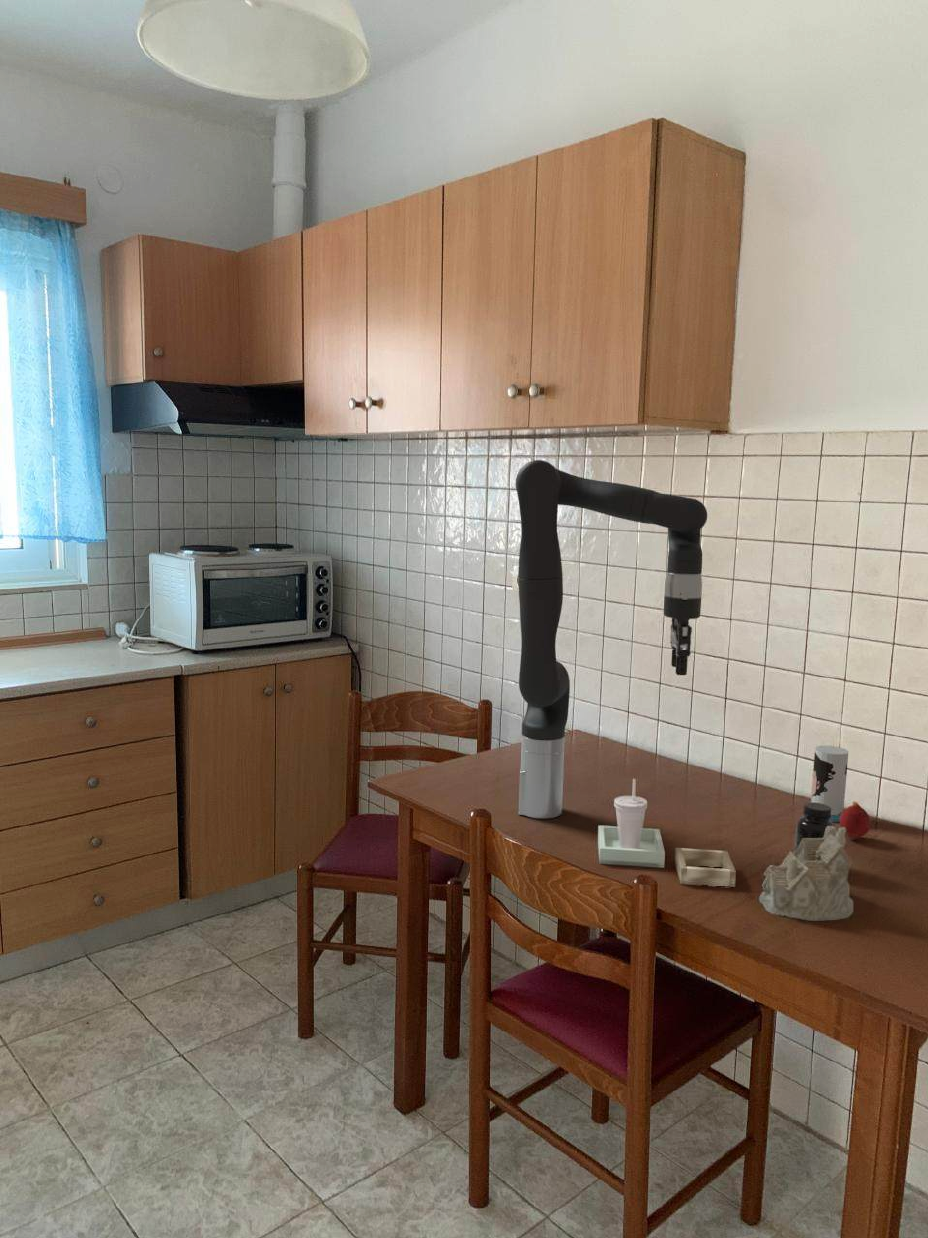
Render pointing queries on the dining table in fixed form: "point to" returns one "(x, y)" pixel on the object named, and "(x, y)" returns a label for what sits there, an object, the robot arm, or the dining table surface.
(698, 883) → the rectangular wooden frame
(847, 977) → the dining table surface
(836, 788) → the cup
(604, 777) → the dining table surface
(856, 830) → the onion
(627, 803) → the smoothie
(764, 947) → the dining table surface
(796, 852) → the ceramic cottage
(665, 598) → the robot arm
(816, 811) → the supplement bottle
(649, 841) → the tray
